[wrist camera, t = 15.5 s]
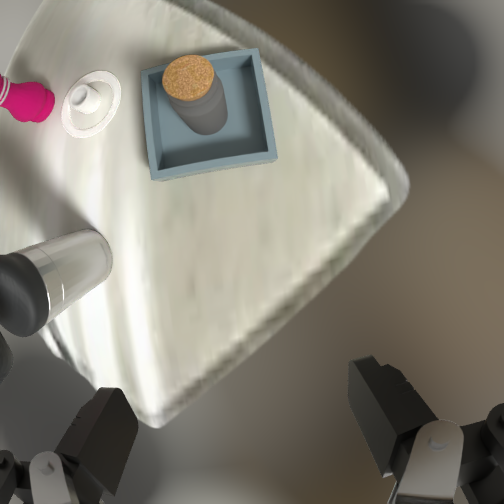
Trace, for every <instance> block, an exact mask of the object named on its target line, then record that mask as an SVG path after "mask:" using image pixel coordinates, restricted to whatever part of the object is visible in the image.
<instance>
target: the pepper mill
mask: <svg viewBox="0 0 504 504" xmlns="http://www.w3.org/2000/svg"><path fill="white" fill-rule="evenodd" d="M54 103H55V97H54V94H53V92H51V91H49V90H47V89H45V88H44V86H43V85H42V84H40V83H37V82H25V83H20V84H15V83H11V82H10V80H9V78H8V77H5V76H1V74H0V107H4V108H6V109H8V110H9V112H10V113H11V114H12V116H13V117H14V118H15V119H17V120H18V121H21V122H28V121H33V122H37V123H39V122H42V121H44V120H45V119H46V118H47V117H48V116H49V115H50V113H51V111H52V109H53V107H54Z"/></svg>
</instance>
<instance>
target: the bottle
mask: <svg viewBox="0 0 504 504" xmlns="http://www.w3.org/2000/svg"><path fill="white" fill-rule="evenodd" d="M162 83H163V87H164V89H165V91H166V93H167V96H168V98H169V102H170V104H171V106H172V108H173V109H174V110H175V112H176V113H177V114H178V115H179V116H180V118H181V119H182V120H183V121H184V122H185V123H186V124H187V126H188V127H189V128H190V129H191V130H192V131H194V132H195V133H197V134H200V135H212V134H215V133H217V132H218V131H220V130H221V129H222V128H223V127H224V125H225V124H226V122H227V118H228V111H227V104H226V99H225V94H224V88H223V85H222V82H221V80H220V78H219V77H218V76H217V74H216V72H215V70H214V69H213V67H212V64H211V63H210V62H209V61H208V60H207V59H206V58H204V57H201V56H198V55H185V56H182V57H179V58H177V59H175V60H174V61H172V62H171V63H170V64H169V65H168V66H167V68H166V69H165V71H164V73H163V77H162Z"/></svg>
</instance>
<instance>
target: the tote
mask: <svg viewBox="0 0 504 504" xmlns="http://www.w3.org/2000/svg"><path fill="white" fill-rule="evenodd" d="M201 57H204V58H206V59H207V60H208V61H209V62H210V63H211V64H212V67H213V69H214V70H215V72H216V74H217V76H218V77H219V78H220V80H221V82H222V85H223V88H224V94H225V99H226V104H227V111H228V118H227V122H226V124H225V125H224V127H223V128H222V129H221V130H220V131H218V132H217V133H215V134H212V135H200V134H197V133H195V132H194V131H192V130H191V129H190V128H189V127H188V126H187V124H186V123H185V122H184V121H183V120H182V119H181V118H180V116H179V115H178V114H177V113H176V112H175V110H174V109H173V108H172V106H171V104H170V102H169V98H168V96H167V93H166V91H165V89H164V87H163V83H162V77H163V73H164V71H165V69H166V68H167V66H168V65H169V64H170V63H168V64H164V65H160V66H156V67H153V68H149V69H146V70H142V71H141V82H142V99H143V112H144V123H145V133H146V142H147V151H148V159H149V167H150V174H151V180H154V181H166V180H171V179H176V178H181V177H186V176H191V175H196V174H201V173H207V172H212V171H218V170H224V169H230V168H237V167H243V166H250V165H257V164H265V163H273V162H274V161H275V160H277V159H278V156H277V150H276V144H275V138H274V132H273V126H272V120H271V114H270V108H269V103H268V97H267V92H266V86H265V81H264V76H263V70H262V65H261V60H260V55H259V50H258V48H255V49H245V50H236V51H229V52H222V53H216V54H210V55H204V56H201Z"/></svg>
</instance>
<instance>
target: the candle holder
mask: <svg viewBox="0 0 504 504" xmlns="http://www.w3.org/2000/svg"><path fill="white" fill-rule="evenodd" d="M93 81H104V82H106V83H107V84H109V86H110V87H111V89H112V92H113V101H112V105H111V108H110V110H109V112H108V113H107V115H106V116H105V118H104V119H103V120H102V121H101V122H100V123H98V124H97V125H95V126H94V127H91V128H88V129H80V128H78V127H76V126H75V125H74V124H73V122H72V120H71V117H70V108H73V109H75V110H77V111H79V112H82V113H84V114H90V113H92V112H94V111H95V110H96V109H97V108H98V106H99V104H100V101H101V96H100V94H99V93H98V92H97V91H96V90H94V89H93V88H91V87H89V86H88V85H87V84H88V83H90V82H93ZM120 98H121V87H120V83H119V81H118V79H117V78H116V76H115V75H113V74H112V73H110V72H107V71H95V72H91V73H89V74H87V75H85V76H83V77H82V78H81V79H79V80H78V81H77V82H76V83H75V84H74V85H73V86H72V87H71V89H70V90H69V92H68V93H67V95H66V97H65V99H64V102H63V105H62V110H61V120H62V124H63V127H64V129H65V130H66V132H67V133H68V134H70V135H71V136H73V137H77V138H86V137H91V136H92V135H94V134H96V133H98V132H100V131H101V130H102V129H103V128H104V127H105V126H106V125H107V124H108V123H109V122H110V120H111V119H112V118H113V116H114V114H115V112H116V110H117V108H118V106H119V102H120Z"/></svg>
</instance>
